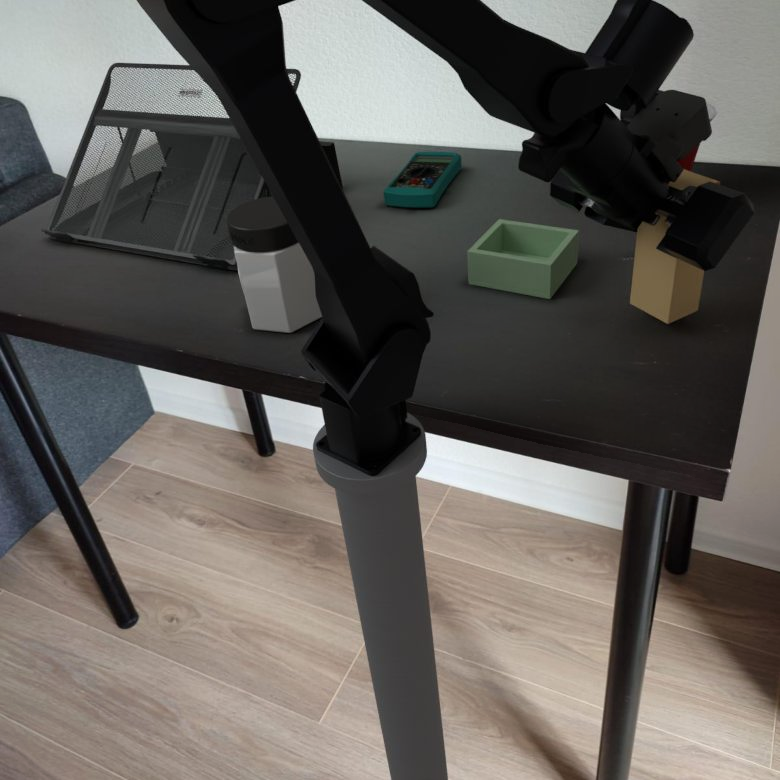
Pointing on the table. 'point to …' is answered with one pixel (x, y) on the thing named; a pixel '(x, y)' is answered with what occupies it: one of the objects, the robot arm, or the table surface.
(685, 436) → the table surface
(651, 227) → the tan rectangular block
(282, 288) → the jar
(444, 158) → the digital multimeter
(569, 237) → the sage green storage bin
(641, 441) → the table surface
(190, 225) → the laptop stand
